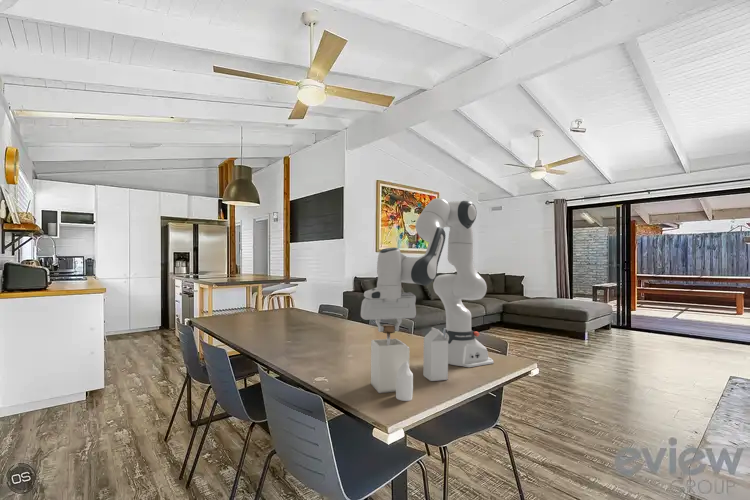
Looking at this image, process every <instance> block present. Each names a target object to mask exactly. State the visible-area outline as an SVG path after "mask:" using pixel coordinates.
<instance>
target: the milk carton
mask: <svg viewBox="0 0 750 500" xmlns="http://www.w3.org/2000/svg"><path fill="white" fill-rule="evenodd" d="M422 367H423V368H422V369H423V373H422V374H423V377H424V378H426V379H427V380H428V381H430V382H436V381H447V380H449V364H448V340H447V339H446V338H445V333H443V332H442V331H441V330H440V329H437V328H435V327H431V330H430V331H429V332H428V333H427V334H426V335H425V336H424V337H423V366H422Z"/></svg>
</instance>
